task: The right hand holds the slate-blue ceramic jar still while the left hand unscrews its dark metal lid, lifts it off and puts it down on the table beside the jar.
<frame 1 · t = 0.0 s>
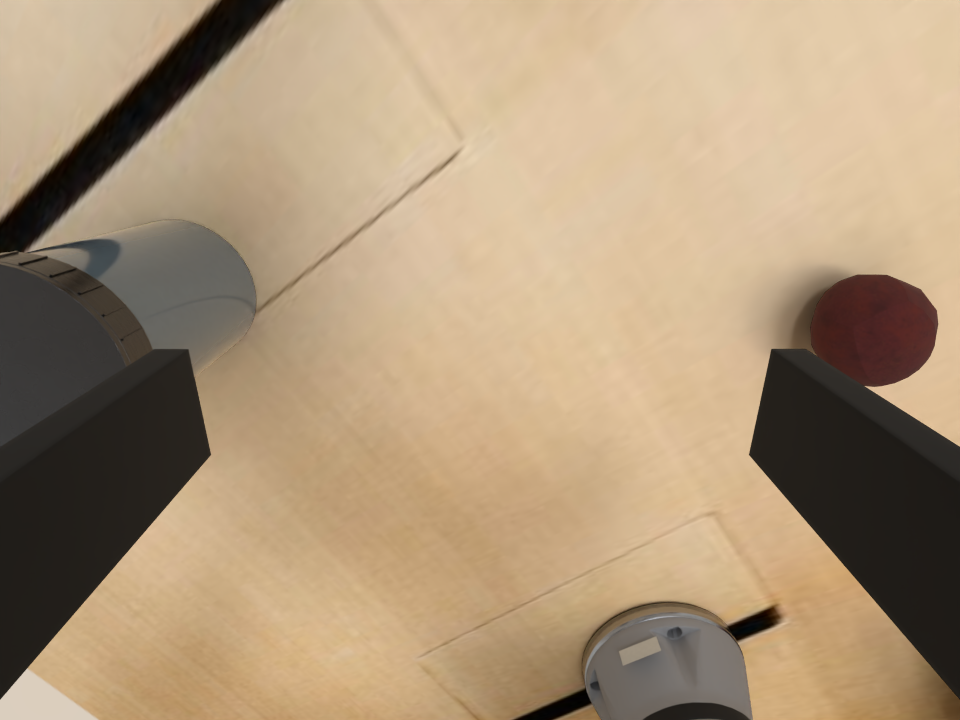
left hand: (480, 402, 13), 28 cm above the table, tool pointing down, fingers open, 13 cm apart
jar: (186, 290, 40), on the table
lid: (19, 374, 26), point 16 cm above the table, screwed on, not yet turned
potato: (838, 313, 41), on the table
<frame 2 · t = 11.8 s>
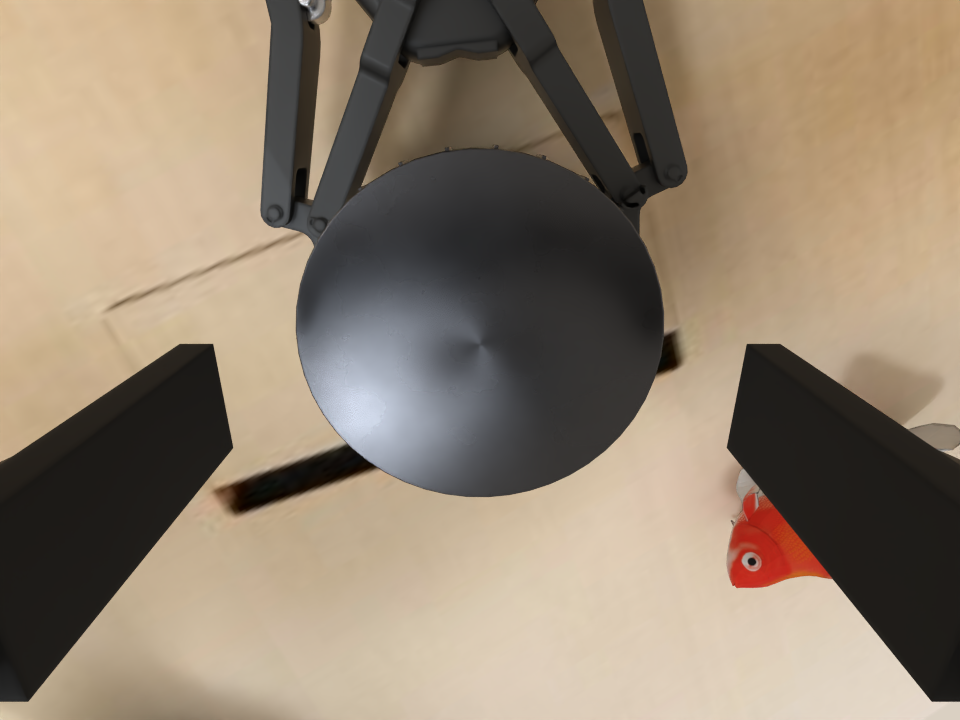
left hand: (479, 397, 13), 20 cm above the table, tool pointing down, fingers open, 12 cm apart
fish: (802, 462, 36), on the table
lid: (479, 340, 16), point 16 cm above the table, screwed on, not yet turned
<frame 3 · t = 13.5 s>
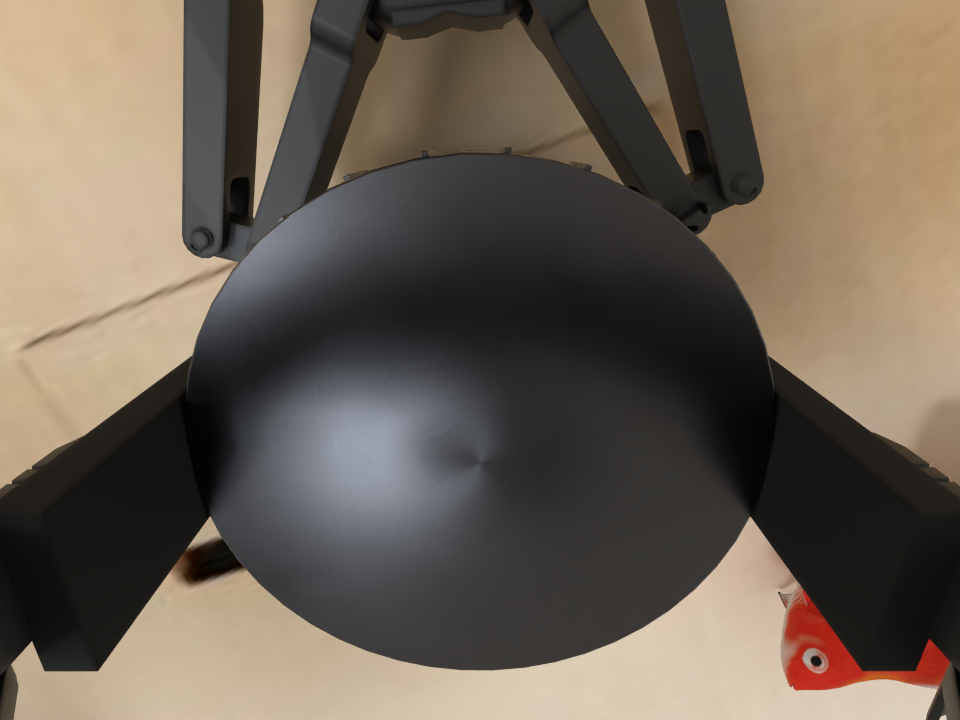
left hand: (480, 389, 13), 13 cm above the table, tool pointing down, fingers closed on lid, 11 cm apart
fish: (865, 525, 30), on the table
lid: (480, 453, 11), point 16 cm above the table, screwed on, not yet turned, touching left hand
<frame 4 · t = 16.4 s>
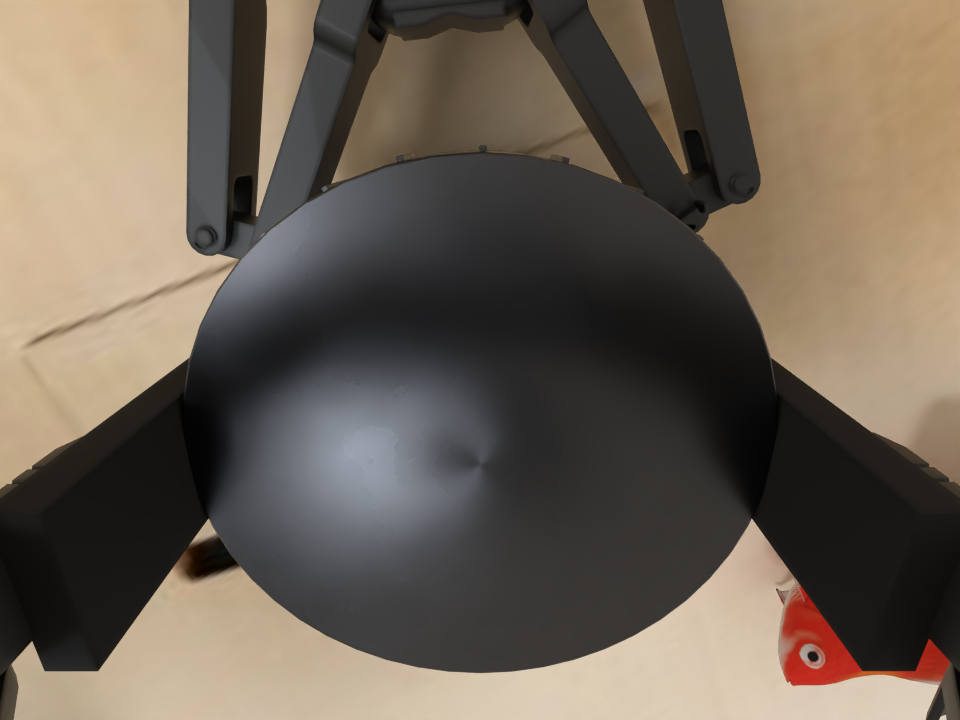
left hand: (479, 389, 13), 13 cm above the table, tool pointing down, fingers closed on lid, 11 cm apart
fish: (863, 522, 31), on the table
lid: (480, 454, 10), point 16 cm above the table, turned 87° so far, risen 0.3 cm, still on its thread, touching left hand
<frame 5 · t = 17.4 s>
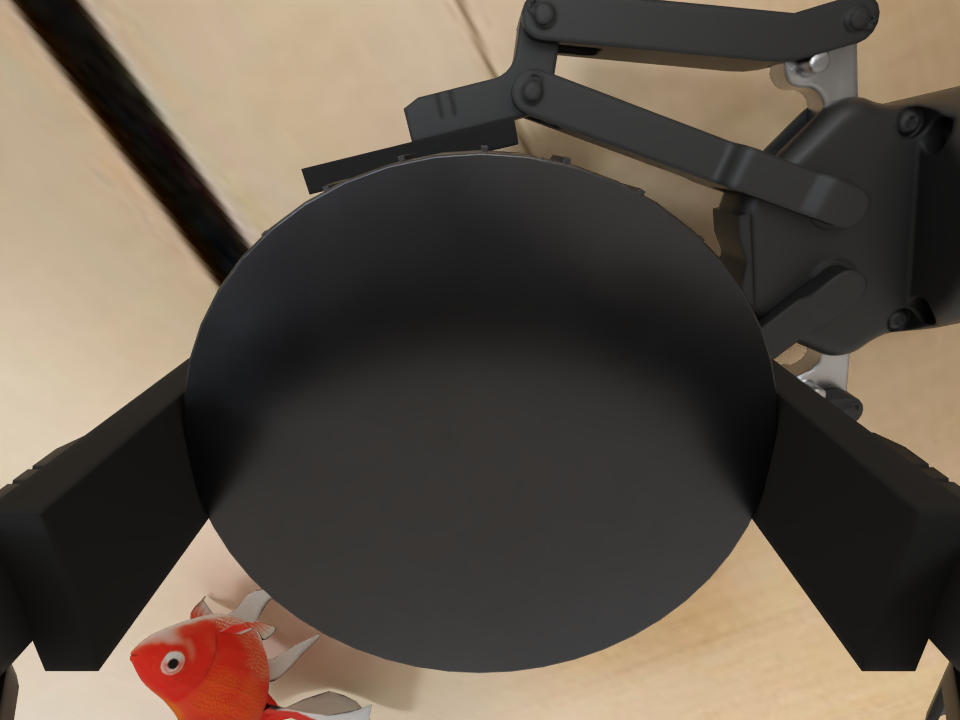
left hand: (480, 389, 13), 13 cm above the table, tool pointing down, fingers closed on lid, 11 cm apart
fish: (297, 635, 34), on the table
lid: (480, 454, 10), point 16 cm above the table, off its thread, touching left hand
when the left hand's fingers open (0 cm above the table, at t = 22.8 s): lid drops 1 cm, point 2 cm above the table.
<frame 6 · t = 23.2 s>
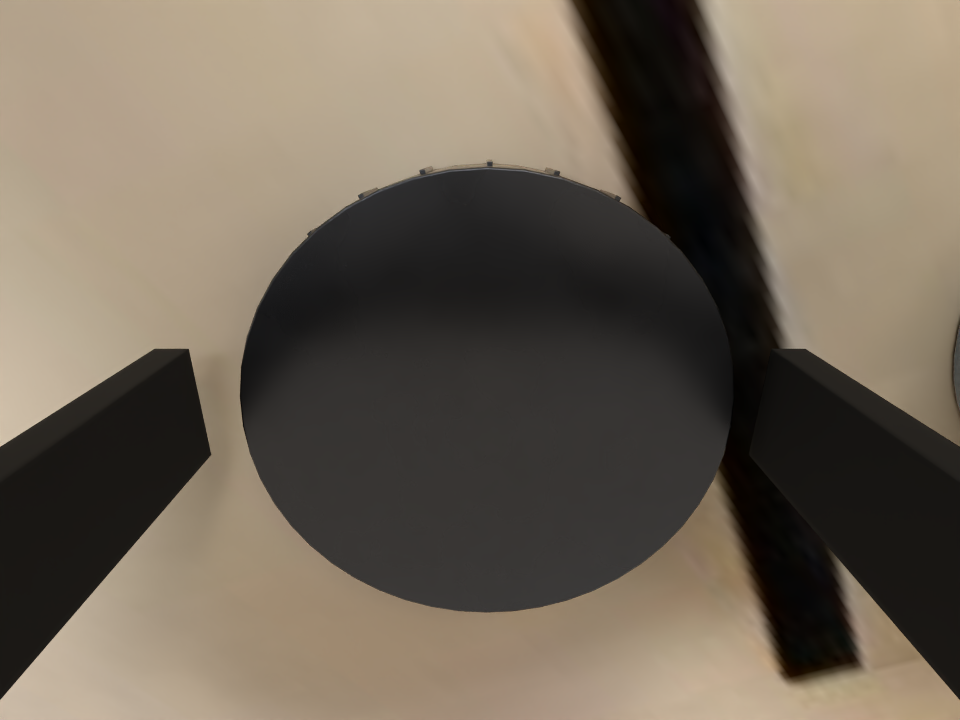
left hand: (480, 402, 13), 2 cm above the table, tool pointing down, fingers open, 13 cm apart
lid: (486, 419, 12), point 2 cm above the table, off its thread
when the right hand's fingers open (7 cm above the table, at t = 23.9 s): jar stays where it is, on the table.
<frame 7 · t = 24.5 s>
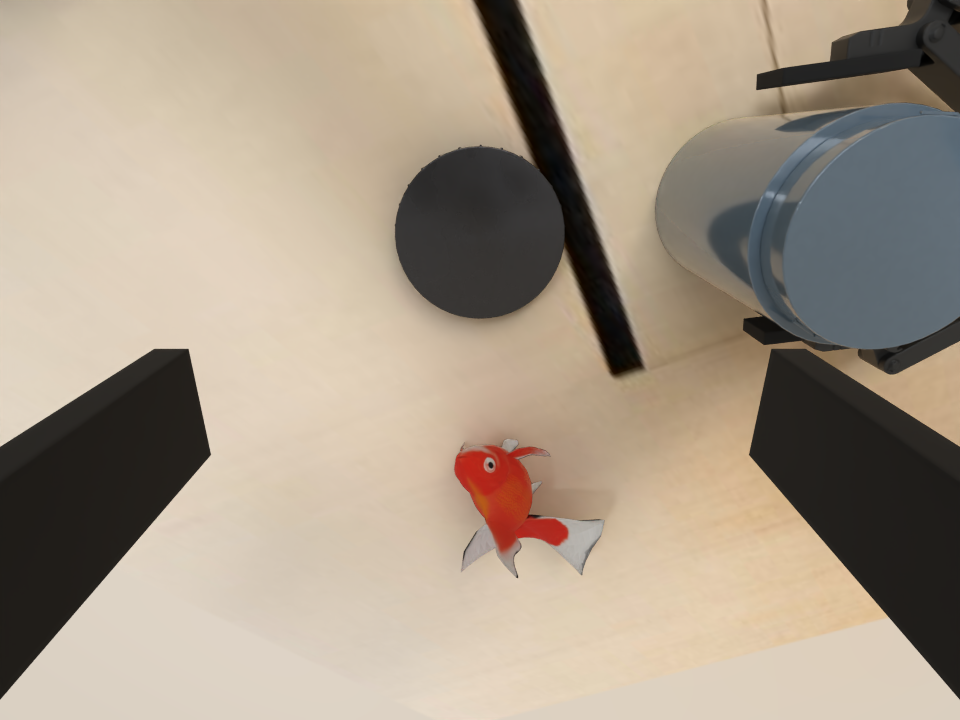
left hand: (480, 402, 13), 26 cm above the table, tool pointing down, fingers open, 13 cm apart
jar: (733, 201, 36), on the table
fish: (522, 482, 44), on the table
lid: (479, 236, 35), point 2 cm above the table, off its thread
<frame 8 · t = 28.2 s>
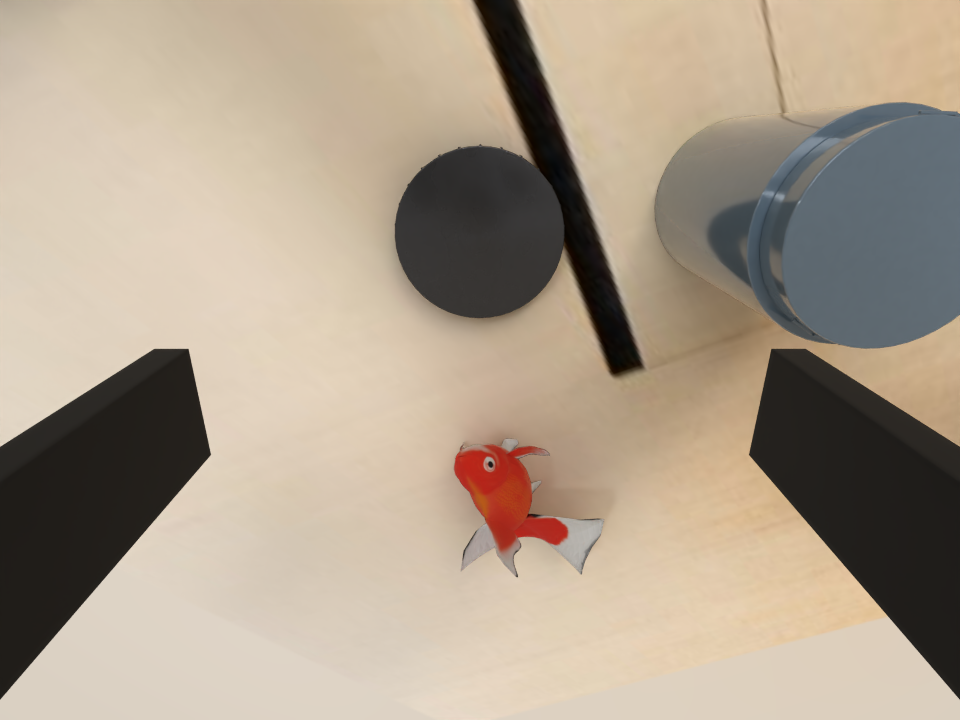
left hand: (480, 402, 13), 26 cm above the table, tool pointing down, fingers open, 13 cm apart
jar: (732, 201, 36), on the table
fish: (522, 482, 44), on the table
lid: (479, 236, 35), point 2 cm above the table, off its thread
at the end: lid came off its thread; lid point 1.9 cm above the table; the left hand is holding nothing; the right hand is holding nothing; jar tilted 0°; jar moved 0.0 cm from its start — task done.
